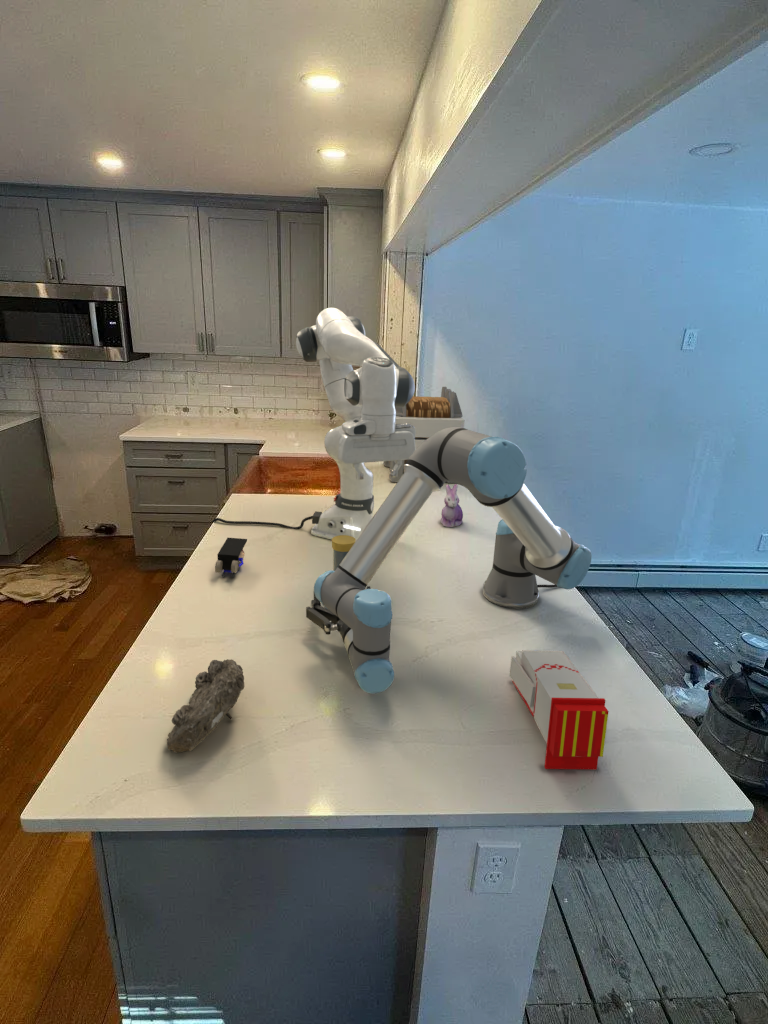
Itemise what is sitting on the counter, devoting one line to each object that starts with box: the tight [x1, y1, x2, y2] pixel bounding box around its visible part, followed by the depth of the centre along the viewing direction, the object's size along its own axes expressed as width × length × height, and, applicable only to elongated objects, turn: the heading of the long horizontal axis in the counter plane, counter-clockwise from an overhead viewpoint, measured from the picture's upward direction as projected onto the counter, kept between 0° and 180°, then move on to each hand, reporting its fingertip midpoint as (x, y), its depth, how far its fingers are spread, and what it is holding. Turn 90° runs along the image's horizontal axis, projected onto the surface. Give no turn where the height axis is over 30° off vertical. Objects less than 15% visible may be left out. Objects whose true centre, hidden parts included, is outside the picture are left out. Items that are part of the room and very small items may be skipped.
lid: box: [331, 535, 356, 552], centre depth 141 cm, size 6×6×2 cm
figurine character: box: [214, 537, 248, 578], centre depth 166 cm, size 7×8×15 cm
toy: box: [509, 649, 610, 771], centre depth 110 cm, size 12×13×30 cm
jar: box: [332, 549, 349, 571], centre depth 144 cm, size 5×5×20 cm
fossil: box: [166, 658, 245, 754], centre depth 106 cm, size 22×10×15 cm
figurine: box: [440, 483, 464, 528], centre depth 209 cm, size 9×10×15 cm
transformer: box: [383, 386, 465, 484], centre depth 268 cm, size 34×33×41 cm
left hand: (376, 477), depth 147 cm, fingers open, 8 cm apart
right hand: (341, 593), depth 144 cm, fingers open, 13 cm apart
